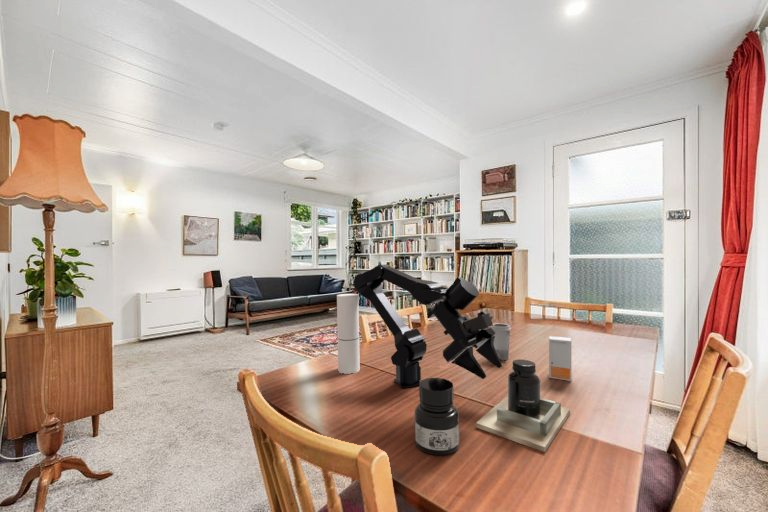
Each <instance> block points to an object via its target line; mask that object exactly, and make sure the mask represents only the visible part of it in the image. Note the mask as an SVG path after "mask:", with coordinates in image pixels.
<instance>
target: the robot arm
mask: <svg viewBox="0 0 768 512" xmlns="http://www.w3.org/2000/svg"><path fill="white" fill-rule="evenodd" d="M385 281H387V282H388V283H390V284H392V285H395V286H396V287H399V288H400V289H403V290H404V291H407V292H408V293H409V294H410V295H411V296H412V298H413V299H415V300H416V301H417V302H419V303H420V304H421V305H423V306H429V305H431V304H435V305H434V306H433V307H428V308H427V314H426V318H427V319H431V318H436V319H437V321H438V322H439V323H440V324H441V326H442V327H443V328H444V331H443V334H444V335H445V336H448V335H449V336H450V337H451V339H452V340H453V341H452V342H450V344H448V345H447V346H446V347H445V348H444V349H443V350H442V357H443V359H444V360H445V362H446V363H447V364H448V363H450V362H451V364H452V365H455V366H458V367H460V368H463V370H466V371H468V372H469V373H471V374H474V375H475V376H477V377H478V378H480V379H481V380H484V379H486V378H487V374H486V373H485V371H484V369H483V368H482V366H481V365H480V363H479V362H478V360H477V359H476V357H475V355H474V349H476V350H475V351H476V352H477V353H478V354H480V356H482V357H483V358H484V359H486V360H487V361H489V362H490V364H492V365H493V366H495V367H496V368H497V369H500V368H502V367H503V365H502V362H501V360H500V359H499V357H498V355H497V353H496V350H495V348H494V338H495V336H493V335H495V332H494V331H493V329H492V328H491V327H492V325H493V324H494V323H493V321H492V320H493V318H494V317H493V316H492V315H491V314H490V312H488V311H487V310H482V311H479V312H478V313H477V316H476V317H474V318H470V317H469V316H467V315H464V316H463V315H462V314H461V313H460V311H464V310H465V309H467V307H468V306H469V305H471V304H472V302H473V301H474V300H475V299H476V298H477V297H478V296H479V295H480V292H479V289H478V288H477V287H476V286H475V285H474V284H472V282H469V281H468V280H466V279H465V278H463V277H462V276H459V277H457V278H455V280H454V281H453V283H452V284H451V285H450V286H449V287H444V286H443V285H442V284H441V283H439V282H436V281H432V280H427V279H419V278H416V277H414V276H412V275H410V274H409V273H408V274H407V273H406V272H403V271H400V270H398V269H396V268H394V267H392V266H391V265H389V264H378V265H376V266H374V267H373V268H371V269H369V270H366V271H364V272H362V273H358V274H356V275H355V276H354V278H353V288H354V290H356V292H357V293H358V295H360V296H361V297H363V298H365V299H367V300H368V301H369V302H370V303H371V305H372V306H373V308H374V309H375V310H376V312H377V313H378V315H379V317H380V318H381V319H382V321H383V322H384V324H385V325H386V327H387V328H388V330H389V331H390V333H391V334H392V336H393V339H394V347H395V349H396V350H395V352H394V353H393V354H392V355H391V356H390V359H391V360H390V361H391V363H392V365H393V366H394V365H395V376H396V377H395V378H394V379H393V381H394V382H395V383H396V384H397V385H398V386H399V387H400V388H401V389H407V388H412V387H417V386H419V382H421V380H422V377H421V376H422V371H421V370H422V368H421V366H420V361H423V358H424V356H425V354H426V352H427V347H428V345H427V342H426V341H425V340H426V337H424V336H423V335H422V333H421V332H420V330H419V329H418V328H413V329H412V328H410V327H409V326H407V324H406V323H405V321H404V320H403V319H402V317H401V316H400V315H399V313H398V312H397V310H396V309H395V307H394V306H393V305H392V303H391V302H390V301H389V299H388V298H387V296H386V295H385V294H384V291H383V283H384V282H385ZM459 310H460V311H459Z"/></svg>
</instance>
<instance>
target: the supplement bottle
mask: <svg viewBox="0 0 768 512" xmlns="http://www.w3.org/2000/svg"><path fill="white" fill-rule="evenodd" d="M511 368H512V371H511V372H510V373H509V374H508V376H507V396H508V410H509V411H512V412H515V413H519V414H522V415H525V416H528V417H532V418H535V419H539V418H540V398H541V379H540V377H539V376H538V375H537V374H536V372H537V370H536V363H535V362H533V361H531V360H527V359H514V360H512V367H511Z"/></svg>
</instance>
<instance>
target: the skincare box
mask: <svg viewBox="0 0 768 512" xmlns="http://www.w3.org/2000/svg"><path fill="white" fill-rule="evenodd" d="M548 375H549V376H548V378H549V379H555V380H562V381H567V382H572V338H571V337H564V336H551V335H549V336H548Z"/></svg>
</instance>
